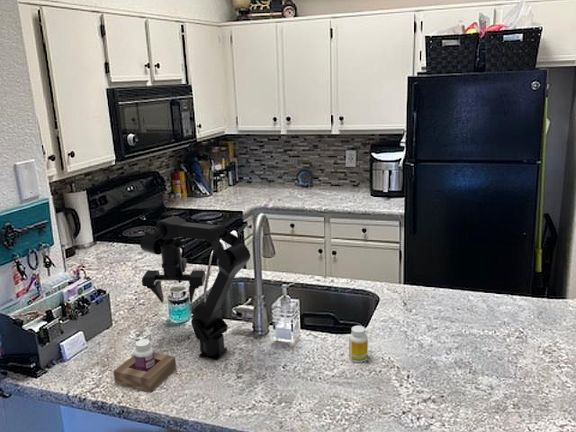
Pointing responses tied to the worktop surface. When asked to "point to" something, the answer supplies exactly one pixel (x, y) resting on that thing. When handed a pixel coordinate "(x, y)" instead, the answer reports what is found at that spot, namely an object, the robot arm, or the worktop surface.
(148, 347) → the pill bottle
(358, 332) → the supplement bottle
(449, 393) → the worktop surface
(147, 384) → the socket block
